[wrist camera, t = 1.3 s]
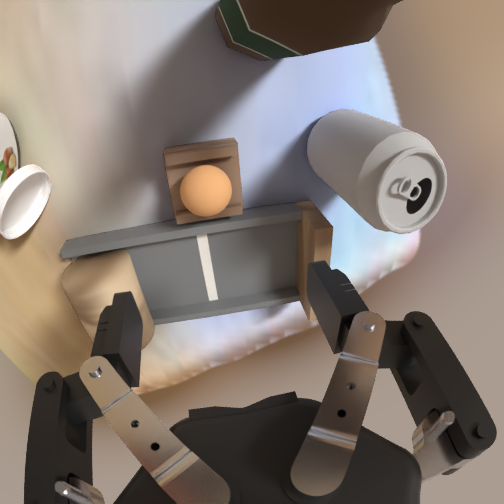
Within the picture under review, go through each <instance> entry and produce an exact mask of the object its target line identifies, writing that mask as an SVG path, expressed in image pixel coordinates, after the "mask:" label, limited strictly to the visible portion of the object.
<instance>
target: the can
mask: <svg viewBox="0 0 504 504" xmlns="http://www.w3.org/2000/svg"><path fill="white" fill-rule="evenodd" d="M307 156H308V160H309V164H310V166H311V167H312V169H313V170H314V172H315V174H316V175H317V176H318V177H320V178H321V179H322V180H323V181H324V182H325V183H326V184H327V185H328V186H329V187H331V188H332V189H333V190H334V191H335V192H336V193H337V194H338V195H339V196H340V197H341V198H342V199H343V200H345V201H346V202H347V203H348V204H349V205H350V206H351V207H352V208H353V209H354V210H355V211H356V212H357V213H358V214H359V215H360V216H361V217H362V218H363V219H364V220H365V221H366V222H368V223H369V224H370V225H371V226H373V227H374V228H375V229H379V230H382V231H386V232H387V231H391V232H395V233H398V234H404V233H411V232H413V231H416V230H418V229H420V228H422V227H423V226H424V225H425V224H427V223H428V222H429V221H430V220H431V219H432V218H433V216H434V215H435V214H436V213H437V211H438V210H439V207H440V206H441V204H442V202H443V200H444V196H445V192H446V188H447V173H446V169H445V166H444V162H443V161H442V160H441V158H440V157H439V155H438V154H437V152H436V150H435V149H434V147H433V146H432V144H431V143H430V142H429V140H427V139H426V138H424V137H422V136H421V135H419V134H417V133H415V132H413V131H410V130H408V129H405V128H403V127H400V126H398V125H395V124H392V123H390V122H387V121H384V120H381V119H379V118H376V117H373V116H370V115H367V114H364V113H361V112H358V111H355V110H349V109H339V110H335V111H332V112H329V113H328V114H326V115H325V116H323V117H322V118H320V119H319V121H318V122H317V123H316V124H315V126H314V127H313V128H312V130H311V133H310V136H309V138H308V142H307Z"/></svg>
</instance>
